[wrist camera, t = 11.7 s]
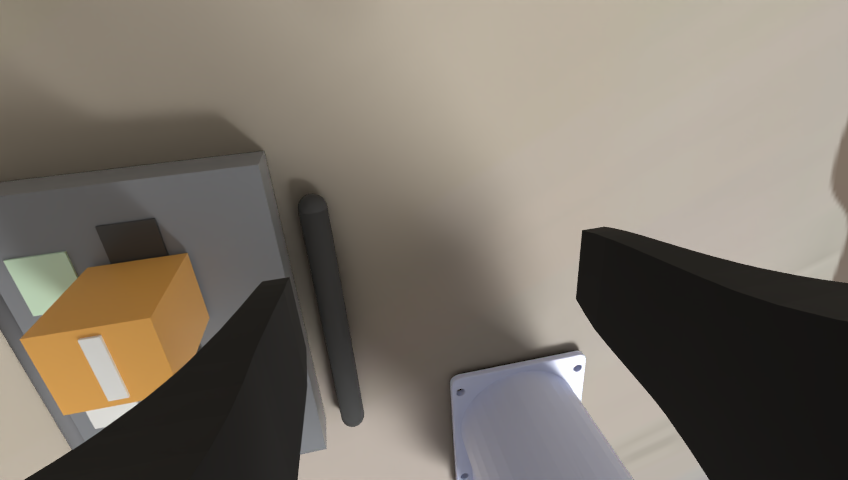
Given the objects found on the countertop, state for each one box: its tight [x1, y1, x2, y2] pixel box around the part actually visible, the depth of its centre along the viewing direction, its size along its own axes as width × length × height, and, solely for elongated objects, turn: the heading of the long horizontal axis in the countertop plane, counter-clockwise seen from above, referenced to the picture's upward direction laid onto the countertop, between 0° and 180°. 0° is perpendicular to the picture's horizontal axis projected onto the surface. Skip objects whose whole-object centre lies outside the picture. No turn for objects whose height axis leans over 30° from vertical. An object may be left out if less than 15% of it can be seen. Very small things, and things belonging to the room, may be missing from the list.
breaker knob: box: [20, 253, 210, 415], centre depth 16 cm, size 3×4×4 cm
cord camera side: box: [0, 294, 85, 450], centre depth 20 cm, size 13×1×1 cm, turn 4°
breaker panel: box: [0, 151, 326, 454], centre depth 20 cm, size 15×10×2 cm, turn 4°
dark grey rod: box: [298, 194, 364, 427], centre depth 22 cm, size 13×1×1 cm, turn 4°
